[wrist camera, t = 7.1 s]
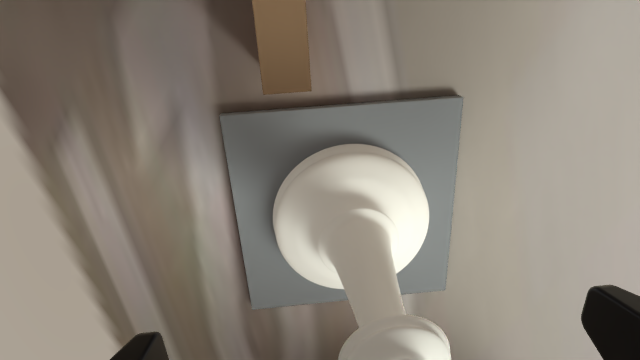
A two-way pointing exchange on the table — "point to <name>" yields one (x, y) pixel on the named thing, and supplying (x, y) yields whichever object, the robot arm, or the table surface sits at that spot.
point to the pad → (324, 132)
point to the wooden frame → (282, 45)
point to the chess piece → (360, 244)
